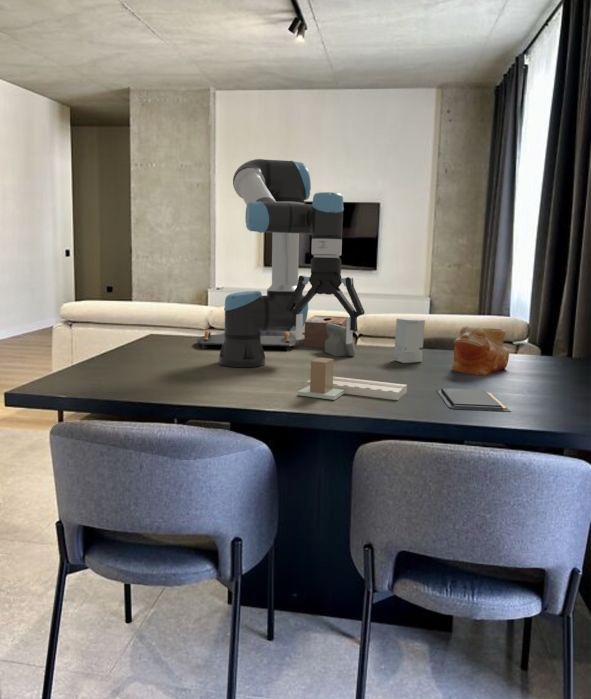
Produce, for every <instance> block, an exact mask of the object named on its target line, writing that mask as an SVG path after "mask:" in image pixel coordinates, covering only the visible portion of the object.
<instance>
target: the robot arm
mask: <svg viewBox="0 0 591 699" xmlns="http://www.w3.org/2000/svg"><path fill="white" fill-rule="evenodd" d="M311 184H312V183H311V176H310V171H309V169H308V167H307V165H306V164H305V163H303V162H301V161H294V160H282V159H281V160H280V159H278V160H277V159H263V158H256V159H251V160H248V161H246V162H244V163H243V164H241V165H240V166H239V167H238V168H237V169H236V171H234V175H233V178H232V185H233V189H234V191H235V193H236V194H237V196H238V197H239V198H241V199H243V201H244V203H245V207H246V208H245V227H246V229H247V230H248V231H249V232H256V233H272V238H271V239H272V241H271V242H272V246H271V247H272V248H271V252H272V253H271V255H272V256H271V284H270V286H269V287H268V288H267V289H266V295H263V294H262V291H260V290H250V291H239V292H234V293H230V294H228V295H227V296H226V297H225V299H224V308H223V311H224V335H225V336H224V343H223V345H221V348H220V351H219V355H218V364H219V365H221V366H223V367H224V366H225V367H228V368H229V367H230V368H231V367H232V368H256V367H261V366H264V365H266V354H265V351H264V348H263V347H264V346H262V344H261V340H260V336H261V332H286V331H287V332H289V333H290V332H295V339H296V340H297V341H299V340H303V330H304V327H305V322H306V321H307V320H308V314H309V312H308V311H309V302H310V301H311V300H312V299H313V298H314V296H316V295H326V296H327V295H329V296H330V295H333V296H334V297H335V298H336V299H337V300H338V302H339V303H340V304H341V306H342V307H343V308H344V310H345V311H346V313H347V314H348V315H349V316H347V317H348V318H347V331H346V344H350V343H352V340H353V336H354V335H353V331H356V330H357V322H358V317H360V316H363V315H365V310H364V307H363V305H362V303H361V300H360V298H359V296H358V293H357V290H356V288H355V286H354V278H353V277H352V276H347V277H343V278H342V259H341V258H340V256H342V247H343V246H342V245H343V223H344V210H345V207H344V197H343V195H342V194H341V193H337V192H330V191H329V192H328V191H327V192H324V191H323V192H317V193H314V194H313V197H312V203H311V204H309V203H308V204H305V201H307V200H308V199H309V198H310V196H311V190H312V188H311V187H312V186H311ZM300 234H303V235H304V234H305V235H310V236H311V251H310V252H311V255H312V256H313V257H311V259H310V276H306V274H305V275H299V261H300V260H299V258H300V257H299V254H300V253H299V251H300V249H299V247H300V246H299V245H300ZM308 283H310V286H311V287H310V288H309V290H307V293H306V294H305V295H304V294H303V292H304V289H305V288H306V286H307V285H308ZM342 284H343V287H346V290H347V293H348V296H349V297H350V301H351V302H352V304H351V303H350V301H349V300H348V298H347V297H346V296H345V294H344V293H343V291H342V290H341V288H340V286H341V285H342ZM352 305H353V306H352Z"/></svg>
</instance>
